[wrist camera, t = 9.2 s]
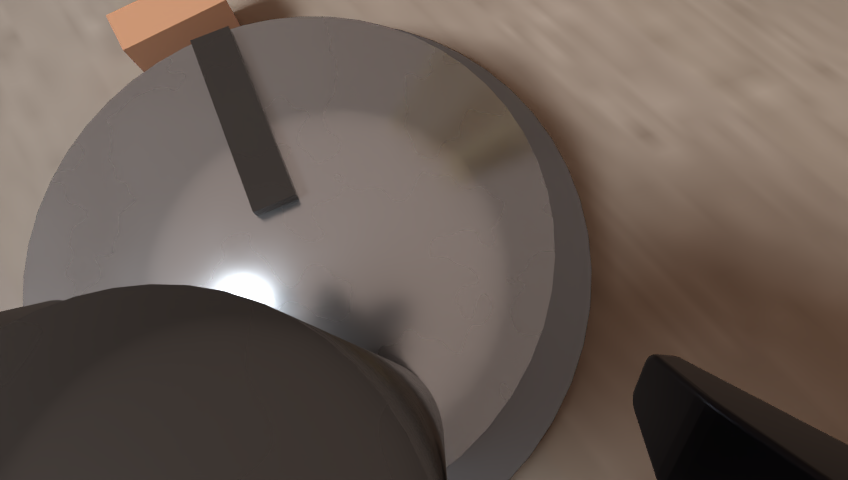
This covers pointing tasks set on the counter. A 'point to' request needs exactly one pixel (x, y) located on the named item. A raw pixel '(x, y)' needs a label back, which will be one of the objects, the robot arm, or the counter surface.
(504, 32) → the counter surface
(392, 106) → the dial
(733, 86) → the counter surface
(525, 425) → the dial base
